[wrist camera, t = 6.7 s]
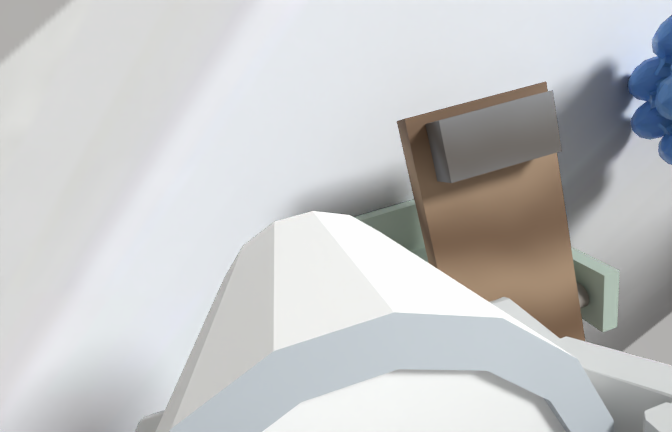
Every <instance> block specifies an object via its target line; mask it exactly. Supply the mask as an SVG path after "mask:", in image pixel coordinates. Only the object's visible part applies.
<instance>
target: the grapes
mask: <svg viewBox="0 0 672 432" xmlns="http://www.w3.org/2000/svg"><path fill="white" fill-rule="evenodd" d="M652 48H653V53H655V54H656V55H657V56H656V57H653V58H650V59H648V60H645V61H643V62H642V63H641V64H640V65H639V66H637V67H636V68H635V70H634V71H633V73H632V75H631V76H630V78H629V80H628V89H629V92H630V93H631V94H632V95H633V96H634V97H635V98H637V99H639V100H645V101H647V102H646V103H644V104H643V105H642V106H640V107H639V108H638V109H637V110H636V112H635V113H634V115H633V117H632V118H631V127H632V130H633V131H634V133H636V134H637V135H638V136H639V137H641V138H645V139H655V138H659V137H662V136H663V138H662V139H661V141H660V142H659V149H658V151H659V156H660V157H661V158H662V159H663V160H664V161H666V162H667V163H668V164H671V165H672V15H671V16H670V17H669V18H668V19H667V20H665V21H664V22H663V23H662V24H661V25H660V27H659V28H658V30H657V32H656V33H655V35H654V37H653V39H652Z"/></svg>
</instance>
